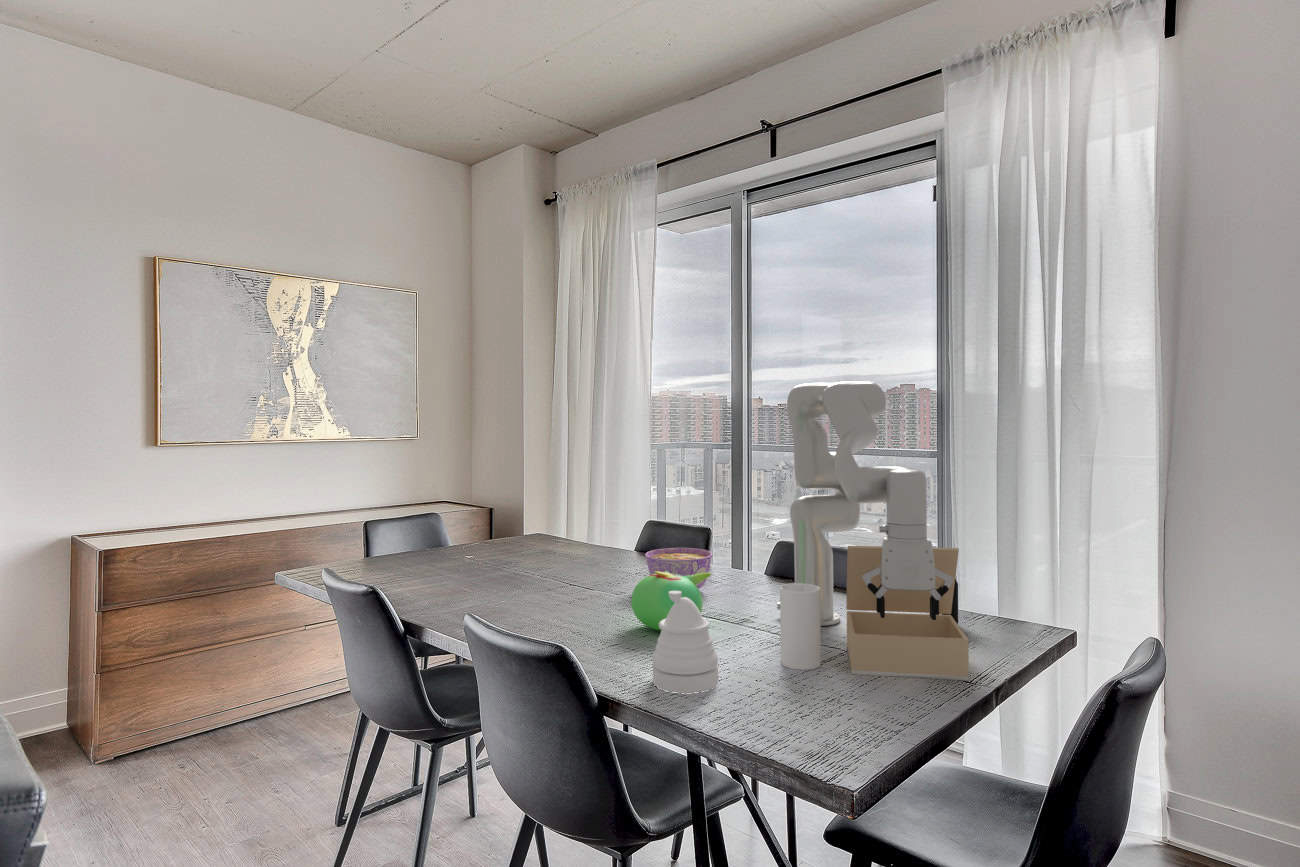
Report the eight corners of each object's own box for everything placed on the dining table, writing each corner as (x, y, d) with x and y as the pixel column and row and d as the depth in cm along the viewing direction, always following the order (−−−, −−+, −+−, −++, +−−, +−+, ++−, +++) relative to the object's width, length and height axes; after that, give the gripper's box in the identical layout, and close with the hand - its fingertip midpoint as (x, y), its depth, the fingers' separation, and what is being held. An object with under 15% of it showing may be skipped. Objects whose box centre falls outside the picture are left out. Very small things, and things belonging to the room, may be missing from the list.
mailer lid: (848, 544, 156) (847, 542, 156) (846, 609, 165) (846, 607, 166) (959, 546, 151) (958, 544, 152) (950, 613, 161) (950, 611, 161)
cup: (812, 672, 149) (812, 593, 149) (774, 665, 154) (773, 589, 153) (826, 660, 156) (825, 585, 156) (789, 654, 161) (788, 581, 160)
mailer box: (851, 674, 148) (851, 634, 148) (846, 646, 166) (846, 611, 165) (968, 680, 143) (968, 639, 143) (951, 651, 161) (951, 615, 161)
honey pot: (669, 698, 136) (668, 602, 136) (642, 677, 148) (641, 587, 148) (730, 687, 142) (729, 594, 141) (699, 667, 153) (698, 581, 153)
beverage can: (960, 629, 177) (960, 580, 177) (931, 628, 178) (931, 579, 178) (955, 622, 184) (955, 574, 183) (927, 621, 185) (927, 573, 185)
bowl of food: (715, 600, 209) (714, 559, 209) (644, 601, 209) (644, 560, 209) (710, 584, 229) (710, 547, 229) (646, 585, 229) (645, 548, 229)
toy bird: (618, 630, 181) (617, 570, 181) (664, 615, 194) (663, 560, 193) (673, 644, 169) (672, 580, 169) (718, 628, 181) (718, 568, 181)
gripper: (862, 534, 145) (863, 620, 145) (956, 535, 141) (957, 624, 142) (860, 528, 152) (861, 610, 153) (949, 529, 149) (949, 614, 149)
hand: (907, 617), depth 147 cm, fingers open, 9 cm apart
